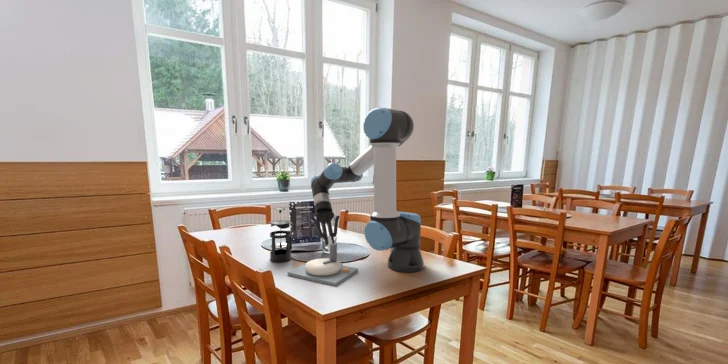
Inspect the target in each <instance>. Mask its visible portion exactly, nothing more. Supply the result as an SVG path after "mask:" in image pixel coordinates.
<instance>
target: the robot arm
mask: <svg viewBox="0 0 728 364" xmlns="http://www.w3.org/2000/svg"><path fill="white" fill-rule="evenodd" d="M414 129H415V127H414V120H413V118H412V116H411V115H410V114H409V113H408V112H406V111H404V110H399V109H398V110H397V109H392V108H387V107H375V108H373V109H371V110H370V111H369V112H368V114H366V116H365V118H364V121H363V132H364V134H365V136H366V137H367V138H368V139H369V145H370V146H369V147H367V148H366V149H365V150H364V151H363V152H362V153H360V154H359V156H358V157H356V158H355V159H354V160H353V161H352V162H350V164H349V165H347V166H341V165H340V164H338V163H336V162H329V163H328V165H326V166H325V167H324V169H323V170H322V171H321V173H320V174H317V175H315V176H313V177H312V178H311V180H310V188H311V194H312V198H313V199H312V200H313V204H314V205H313V206H314V211H315V216H311V217H310V218H311V219H310V222H311V223H312V224H313V226H314V229H315V230H316V233H317V235H318V237H319V239H323V241H324V244H325V246H327V249H328V250H327V251H328V253H329V254H330V244H335V238H336V237H337V234H338V226H339V220H340V215H336V214H335V213H334V212H333V208H332V201H331V198H330V192H329V190H330V189H331V188H332V187H333V186H334V185H335V184H344V183H355V182H361V181H362V178H363V175H364V173H365V172H367V171H368V170H369V169H370V168H372V166H373V204H374V205H373V206H374V208H373V211H372V212H371V213H370V220H369V221H368V222H367V223H366V225H365V226H364V231H363V232H364V233H363V234H364V238H365V241H366V242H367V244H368V245H369V246H370V247H371V248H372V250H375V251H380V252H381V251H387V250H391V251H390V253H389V256H388V259H387V267H388V268H389V269H390V270H393V271H396V272H402V273H416V272H419V271H422V270H423V269H424V264H425V263H424V259H423V256H422V251H421V228H422V227H421V226H422V223H421V221H422V220H421V216H420V215H419V214H418V213H414V212H406V211H398V210H397V148H398V147H400V146H402V145H403V144H404V143H405V142H406V141H408V139H409V138H410V137H411V136H412V135H413V132H414ZM332 220H333V221H334V224H333V225H334V226H333V227H332ZM319 223H320V224H321V226H320V225H319ZM327 230H328V232H327ZM391 248H392V249H391Z"/></svg>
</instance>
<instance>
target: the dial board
mask: <svg viewBox="0 0 728 364" xmlns="http://www.w3.org/2000/svg"><path fill="white" fill-rule="evenodd" d="M306 263H307V262H306ZM306 263H304V264H301V265H299V266H298V267H295V268H293V269H291V270H289V271H287V276H290V277H294V278H298V279H303V280H306V281H312V282H314V283H320V284H325V285H328V286H334V287H337V286H338V285H340V284H341V283H343V282H344V281H346V280H347V279H349V278H350V277H352V276H353V275H355V274H356V273H358V271H359V268H357V267H352V266H346V265H344V264H343V263H341V270H340V271H339V272H338V273H336V274H332V275H326V276H318V275H312V274H309V273H307V272H306Z"/></svg>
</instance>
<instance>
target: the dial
mask: <svg viewBox="0 0 728 364" xmlns="http://www.w3.org/2000/svg"><path fill="white" fill-rule="evenodd" d="M337 254H338V244H337V243H334V244H330V253H329V258H328V257H327V258H323V257H322V258H315V259H311V260H309V261H307V262H306V272H307V273H309V274H312V275H318V276H326V275H332V274H336V273H338V272H339V271H340V270H341V261H339V260H338V257H337V256H338V255H337Z"/></svg>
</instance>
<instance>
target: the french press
mask: <svg viewBox="0 0 728 364" xmlns="http://www.w3.org/2000/svg"><path fill="white" fill-rule="evenodd" d="M275 210H276V211H278V212H279V219H278V220H272V221H270V222H269V224H270V227H271V228H272V227H275V226H276V227H277V228H278V229H279V230H274V231H271V232H269V238H271V245H270V247H271V251H270V252H269V254H270V255H269V256H270V258H269V261H270V262H271V263H277V264H279V263H288V262H289V261H292V250H293V246H292V245H293V242H292V241H293V238H292V237H293V232H292V230H286V229H288V228H290V227H291V222H292V221H291V220H287V219H282V215H281V214H282V211H285V210H286V208H284V207H277V208H275ZM283 229H285V230H283ZM278 234H279V235H278ZM276 239H279V242H276ZM282 239H285V242H282Z"/></svg>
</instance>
